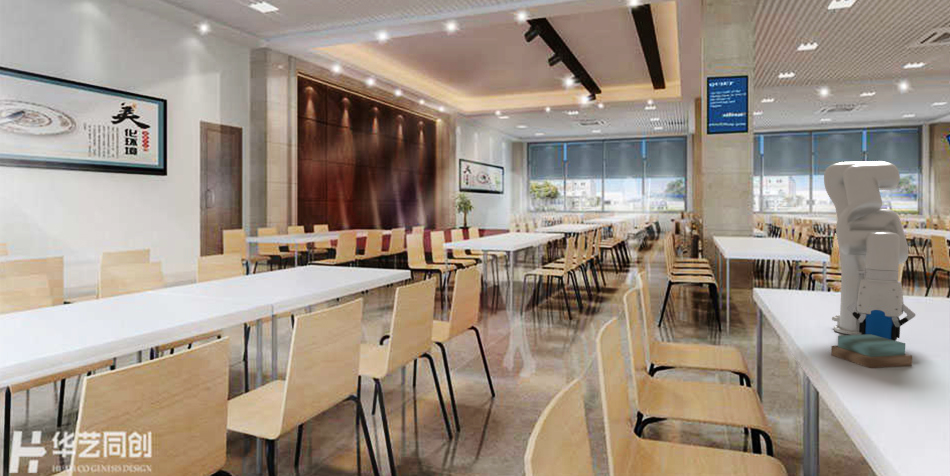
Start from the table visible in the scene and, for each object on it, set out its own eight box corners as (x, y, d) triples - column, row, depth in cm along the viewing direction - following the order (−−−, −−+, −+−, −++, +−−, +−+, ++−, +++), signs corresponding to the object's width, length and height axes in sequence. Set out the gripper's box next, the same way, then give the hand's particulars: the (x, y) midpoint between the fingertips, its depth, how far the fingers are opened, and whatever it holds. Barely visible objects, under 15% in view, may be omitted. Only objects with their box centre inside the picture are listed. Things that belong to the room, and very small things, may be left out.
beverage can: (898, 351, 147) (899, 308, 146) (871, 350, 148) (873, 308, 148) (884, 345, 153) (886, 304, 153) (859, 344, 155) (861, 304, 154)
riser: (831, 354, 144) (831, 335, 144) (869, 352, 146) (870, 333, 145) (870, 368, 132) (871, 346, 132) (911, 365, 134) (912, 344, 134)
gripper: (841, 274, 153) (839, 334, 154) (918, 279, 141) (915, 346, 142) (848, 271, 158) (846, 330, 159) (923, 277, 146) (920, 341, 147)
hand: (878, 337), depth 151 cm, fingers closed on beverage can, 6 cm apart
